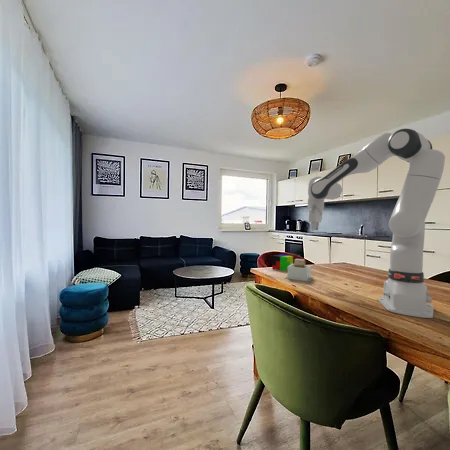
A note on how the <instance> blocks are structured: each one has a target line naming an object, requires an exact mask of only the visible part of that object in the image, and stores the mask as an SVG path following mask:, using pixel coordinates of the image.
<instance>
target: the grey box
mask: <svg viewBox="0 0 450 450" xmlns="http://www.w3.org/2000/svg"><path fill="white" fill-rule="evenodd" d="M286 275H287V276H286V277H287V279H286V280H290V279H295V280H294V281H297V280H303V281H302V282H305V281H307V280H309V279H310V278H311V277H312V276H311V275H312V265H308V264H305V268H302V267H294V263H293V264H291V265H289V266H288V270H287V274H286Z"/></svg>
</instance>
